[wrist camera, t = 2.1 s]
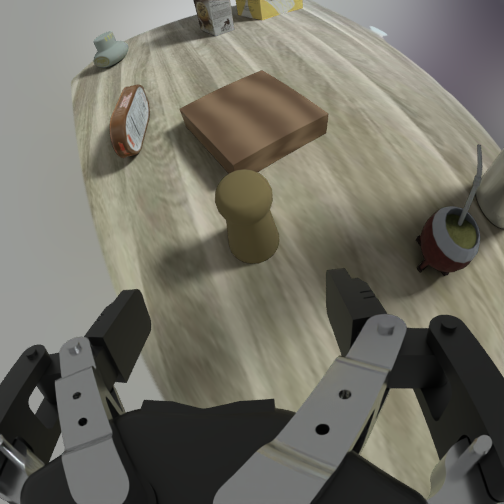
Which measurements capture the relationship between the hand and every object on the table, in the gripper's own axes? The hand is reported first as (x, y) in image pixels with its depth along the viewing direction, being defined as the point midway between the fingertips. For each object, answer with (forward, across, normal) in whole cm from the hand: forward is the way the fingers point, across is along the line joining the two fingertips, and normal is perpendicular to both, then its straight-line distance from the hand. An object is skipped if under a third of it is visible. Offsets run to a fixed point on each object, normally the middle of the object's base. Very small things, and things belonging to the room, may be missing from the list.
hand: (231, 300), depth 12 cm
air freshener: (+66, +35, -39) cm, 85 cm away
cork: (+22, 0, +5) cm, 23 cm away
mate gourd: (+19, -22, +8) cm, 30 cm away
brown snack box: (+68, +4, -41) cm, 80 cm away
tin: (+38, +18, -11) cm, 44 cm away
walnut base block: (+36, -2, -9) cm, 37 cm away
